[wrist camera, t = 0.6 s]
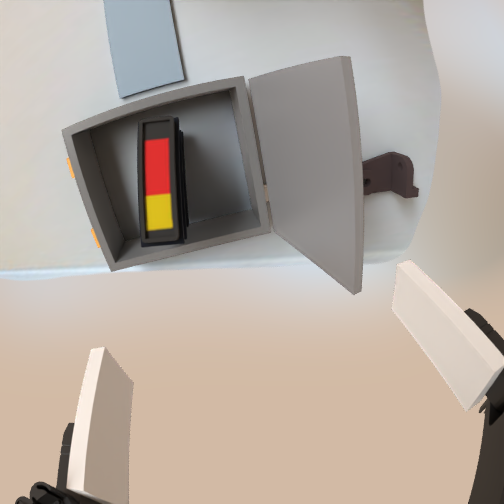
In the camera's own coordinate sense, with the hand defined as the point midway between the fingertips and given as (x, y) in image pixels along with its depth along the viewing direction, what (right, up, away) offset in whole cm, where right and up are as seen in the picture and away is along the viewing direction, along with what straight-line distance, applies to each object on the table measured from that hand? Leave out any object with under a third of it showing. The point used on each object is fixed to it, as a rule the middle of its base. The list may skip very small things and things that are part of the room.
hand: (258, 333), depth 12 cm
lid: (+3, +10, +12) cm, 16 cm away
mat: (-13, +29, +14) cm, 35 cm away
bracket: (+17, +15, +28) cm, 36 cm away
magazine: (-10, +14, +23) cm, 29 cm away
